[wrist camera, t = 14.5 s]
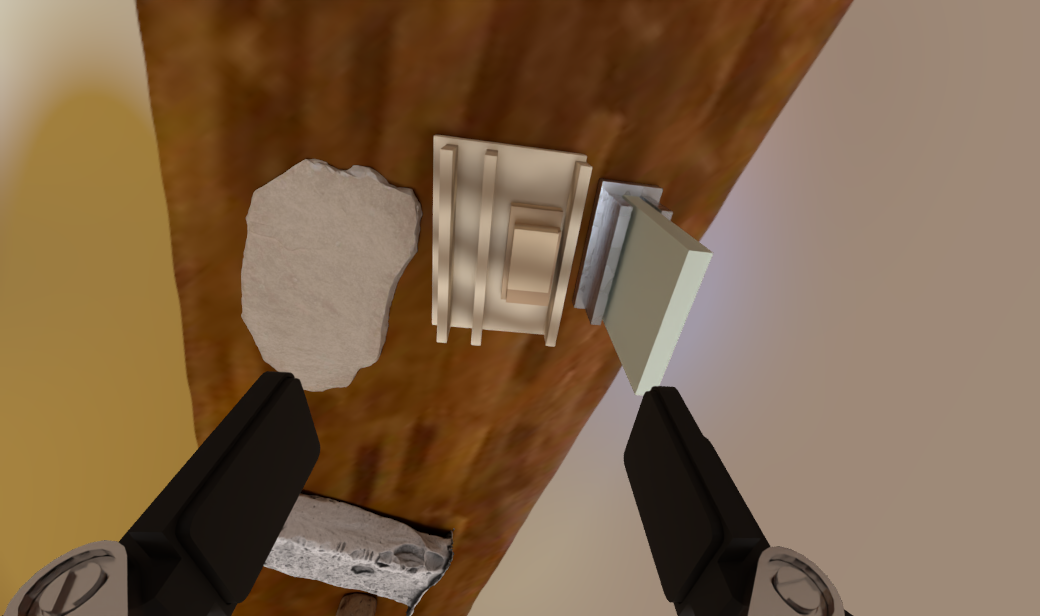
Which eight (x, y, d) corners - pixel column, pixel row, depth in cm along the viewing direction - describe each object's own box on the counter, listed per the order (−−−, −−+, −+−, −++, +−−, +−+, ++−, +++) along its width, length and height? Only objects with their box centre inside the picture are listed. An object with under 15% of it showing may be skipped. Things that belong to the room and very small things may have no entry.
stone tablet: (438, 195, 37) (433, 201, 35) (364, 397, 50) (358, 410, 48) (264, 116, 33) (248, 117, 31) (234, 357, 46) (220, 369, 44)
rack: (436, 134, 34) (424, 140, 29) (584, 154, 35) (596, 162, 30) (434, 317, 44) (425, 344, 39) (549, 328, 45) (554, 355, 40)
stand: (599, 178, 36) (616, 192, 31) (657, 185, 37) (684, 201, 31) (572, 301, 43) (581, 331, 38) (621, 306, 44) (638, 336, 38)
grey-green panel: (622, 194, 36) (689, 250, 23) (638, 196, 36) (713, 253, 23) (594, 302, 42) (635, 394, 29) (608, 303, 42) (654, 396, 29)
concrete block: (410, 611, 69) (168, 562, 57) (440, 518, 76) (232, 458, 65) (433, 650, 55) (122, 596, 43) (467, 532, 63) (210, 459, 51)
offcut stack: (511, 202, 36) (511, 215, 32) (561, 208, 36) (568, 221, 32) (500, 292, 41) (500, 313, 37) (545, 297, 41) (549, 317, 37)
